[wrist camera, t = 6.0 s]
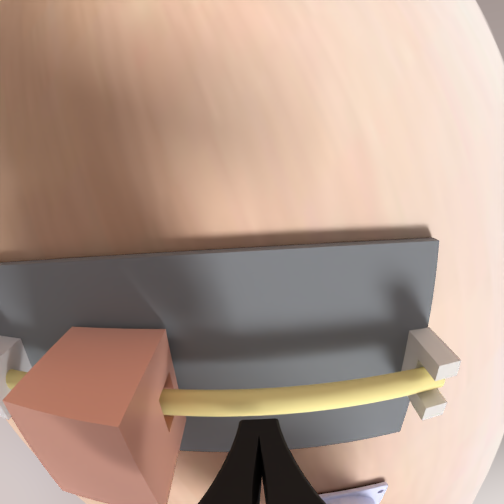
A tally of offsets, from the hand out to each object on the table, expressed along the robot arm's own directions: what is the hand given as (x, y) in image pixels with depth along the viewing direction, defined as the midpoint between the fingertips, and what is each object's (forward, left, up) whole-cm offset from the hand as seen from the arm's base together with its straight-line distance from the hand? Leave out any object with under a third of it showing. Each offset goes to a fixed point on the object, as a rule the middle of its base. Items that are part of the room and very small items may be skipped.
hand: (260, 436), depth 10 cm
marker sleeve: (0, +6, -5) cm, 8 cm away
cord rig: (0, +4, -5) cm, 6 cm away
